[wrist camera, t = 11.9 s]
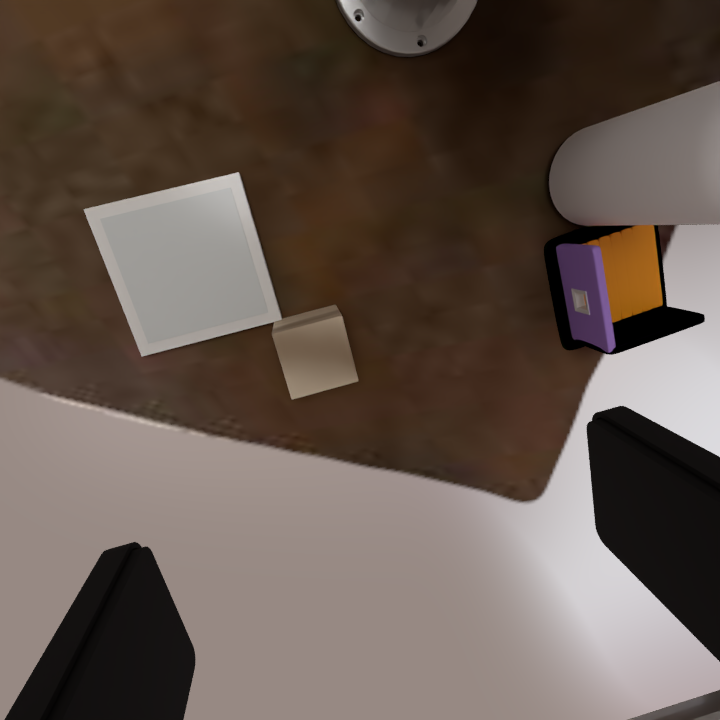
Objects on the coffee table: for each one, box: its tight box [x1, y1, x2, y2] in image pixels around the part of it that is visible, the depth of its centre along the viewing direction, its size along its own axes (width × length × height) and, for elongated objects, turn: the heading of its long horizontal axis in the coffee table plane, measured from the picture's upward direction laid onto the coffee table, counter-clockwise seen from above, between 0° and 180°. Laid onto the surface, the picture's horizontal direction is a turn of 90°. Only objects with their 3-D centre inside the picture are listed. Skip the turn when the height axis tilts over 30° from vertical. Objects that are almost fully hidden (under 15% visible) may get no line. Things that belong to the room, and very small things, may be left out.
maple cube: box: [272, 305, 359, 399], centre depth 43 cm, size 6×6×6 cm
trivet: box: [84, 172, 282, 356], centre depth 41 cm, size 13×13×1 cm
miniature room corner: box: [544, 225, 705, 354], centre depth 45 cm, size 12×12×7 cm
